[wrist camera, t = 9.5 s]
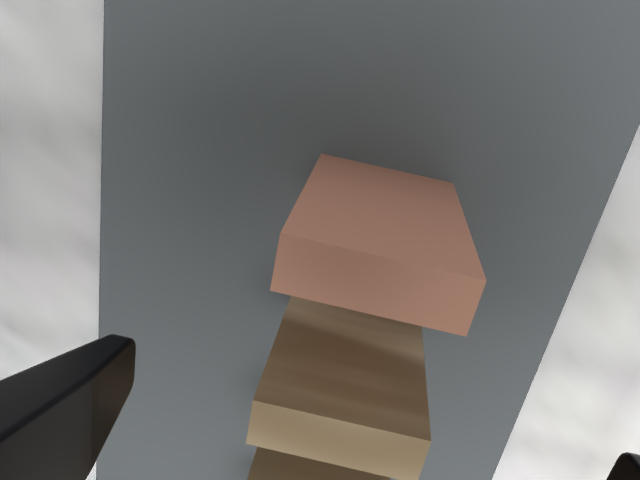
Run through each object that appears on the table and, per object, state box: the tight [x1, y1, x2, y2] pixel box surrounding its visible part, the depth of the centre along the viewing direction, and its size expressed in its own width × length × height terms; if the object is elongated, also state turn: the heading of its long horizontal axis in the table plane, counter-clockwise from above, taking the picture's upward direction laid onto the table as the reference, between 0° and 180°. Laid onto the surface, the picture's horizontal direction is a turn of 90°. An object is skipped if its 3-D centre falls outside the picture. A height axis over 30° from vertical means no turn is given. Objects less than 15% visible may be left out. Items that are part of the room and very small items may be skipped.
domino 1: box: [270, 153, 487, 337], centre depth 17 cm, size 2×5×8 cm, turn 79°
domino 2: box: [246, 296, 431, 480], centre depth 19 cm, size 2×5×8 cm, turn 80°
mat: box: [96, 0, 640, 480], centre depth 24 cm, size 19×34×1 cm, turn 170°
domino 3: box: [247, 446, 390, 480], centre depth 21 cm, size 2×5×8 cm, turn 79°
